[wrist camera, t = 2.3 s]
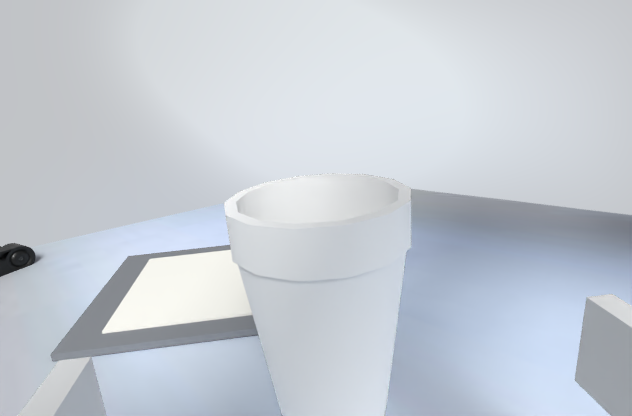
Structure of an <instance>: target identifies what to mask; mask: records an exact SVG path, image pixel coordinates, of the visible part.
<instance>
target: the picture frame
mask: <svg viewBox="0 0 632 416" xmlns="http://www.w3.org/2000/svg"><path fill="white" fill-rule="evenodd" d="M253 335H258V332H257V328H256V325H255V322H254V318H253V315H252V311H251V308H250V304H249V301H248V298H247V294H246V291H245V287H244V284H243V281H242V277H241V274H240V270H239V267H238V264H236V263H235V262H233V261H232V254H231V248H230V245H225V246H216V247H207V248H198V249H189V250H180V251H171V252H162V253H153V254H144V255H135V256H128V257H127V259H126V260H125V261H124V262H123V264H122V265H121V266H120V267H119V269H118V270H117V271H116V272H115V274H114V275H113V276H112V277H111V279H110V280H109V281H108V283H107V284H106V285H105V286H104V288H103V289H102V290H101V291H100V293H99V294H98V295H97V296H96V298H95V299H94V300H93V302H92V303H91V304H90V305H89V307H88V308H87V309H86V310H85V312H84V313H83V314H82V315H81V317H80V318H79V319H78V320H77V322H76V323H75V324H74V326H73V327H72V328H71V329H70V331H69V332H68V333H67V334H66V336H65V337H64V338H63V339H62V341H61V342H60V343H59V344H58V346H57V347H56V348H55V350H54V351H53V352H52V353H51V358H52V361H59V360H67V359H75V358H82V357H90V356H98V355H106V354H114V353H121V352H129V351H137V350H145V349H152V348H160V347H168V346H176V345H183V344H191V343H199V342H207V341H214V340H222V339H230V338H238V337H245V336H253Z"/></svg>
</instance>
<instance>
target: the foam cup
mask: <svg viewBox="0 0 632 416" xmlns="http://www.w3.org/2000/svg"><path fill="white" fill-rule="evenodd" d="M224 206H225V214H226V221H227V228H228V234H229V241H230V248H231V254H232V261H233V262H235V263H236V264H238V267H239V270H240V274H241V277H242V281H243V284H244V287H245V291H246V294H247V298H248V301H249V304H250V308H251V311H252V315H253V318H254V322H255V325H256V328H257V332H258V335H259V339H260V342H261V345H262V349H263V352H264V356H265V359H266V363H267V366H268V369H269V373H270V376H271V380H272V383H273V386H274V390H275V393H276V397H277V400H278V403H279V407H280V410H281V414H282V416H385V409H386V407H387V399H388V391H389V384H390V376H391V368H392V360H393V353H394V345H395V337H396V330H397V322H398V314H399V306H400V299H401V291H402V283H403V275H404V268H405V260H406V252H407V251H408V250H409V249H410V248H411V188H409V187H407V186H405V185H403V184H402V183H400V182H398V181H396V180H394V179H389V178H383V177H377V176H372V175H366V174H320V175H309V176H308V175H307V176H297V177H292V178H287V179H281V180H276V181H270V182H266V183H263V184H260V185H257V186H254V187H251V188H248V189H245V190H242V191H240V192H238V193H237V194H236V195H234V196H233V197H231V198H230V199H229V200H227V201H226V202H225V203H224Z"/></svg>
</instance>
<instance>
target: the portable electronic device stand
mask: <svg viewBox="0 0 632 416" xmlns="http://www.w3.org/2000/svg"><path fill="white" fill-rule="evenodd" d="M34 261H35V253H34V251H33V250H32V249H31V248H29V247H26V246H23V245H20V244H15V243H11V244H7V245H5V246H3V247H1V246H0V277H1V276H3V275H6V274H9V273H11V272H14V271H17V270H19V269H22V268H24V267H27V266H30V265H32V264H33V263H34Z"/></svg>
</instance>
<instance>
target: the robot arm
mask: <svg viewBox="0 0 632 416" xmlns="http://www.w3.org/2000/svg"><path fill="white" fill-rule="evenodd" d="M575 381H576V382H577V383H578V384H579V385H580V386H581V387H582V388H583V389H584V390H585V391H586V392H587V393H588V394H589V395H590V396H591V397H592V398H593V399H594V400H595V401H596V402H597V403H598V404H599V405H601V406H602V407H603V408H604V409H605V410H606V411H607V412H608V413H609V414H610V415H611V416H632V306H631V305H629V304H628V303H626V302H625V301H623V300H621V299H620V298H618V297H616V296H615V295H613V294H609V295H600V296H592V297H587V298H586V305H585V312H584V319H583V326H582V333H581V339H580V346H579V353H578V360H577V367H576V374H575ZM18 416H107V415H106V411H105V407H104V403H103V400H102V396H101V392H100V388H99V384H98V381H97V377H96V373H95V369H94V365H93V362H92V358H91V357H85V358H76V359H68V360H60V361H58V362H57V364H56V365H55V366H54V368H53V369H52V370H51V372H50V373H49V374H48V376H47V377H46V378H45V380H44V381H43V382H42V384H41V385H40V386H39V388H38V389H37V390H36V392H35V393H34V394H33V396H32V397H31V398H30V400H29V401H28V402H27V404H26V405H25V406H24V408H23V409H22V410H21V412H20V413H19V414H18Z"/></svg>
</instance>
